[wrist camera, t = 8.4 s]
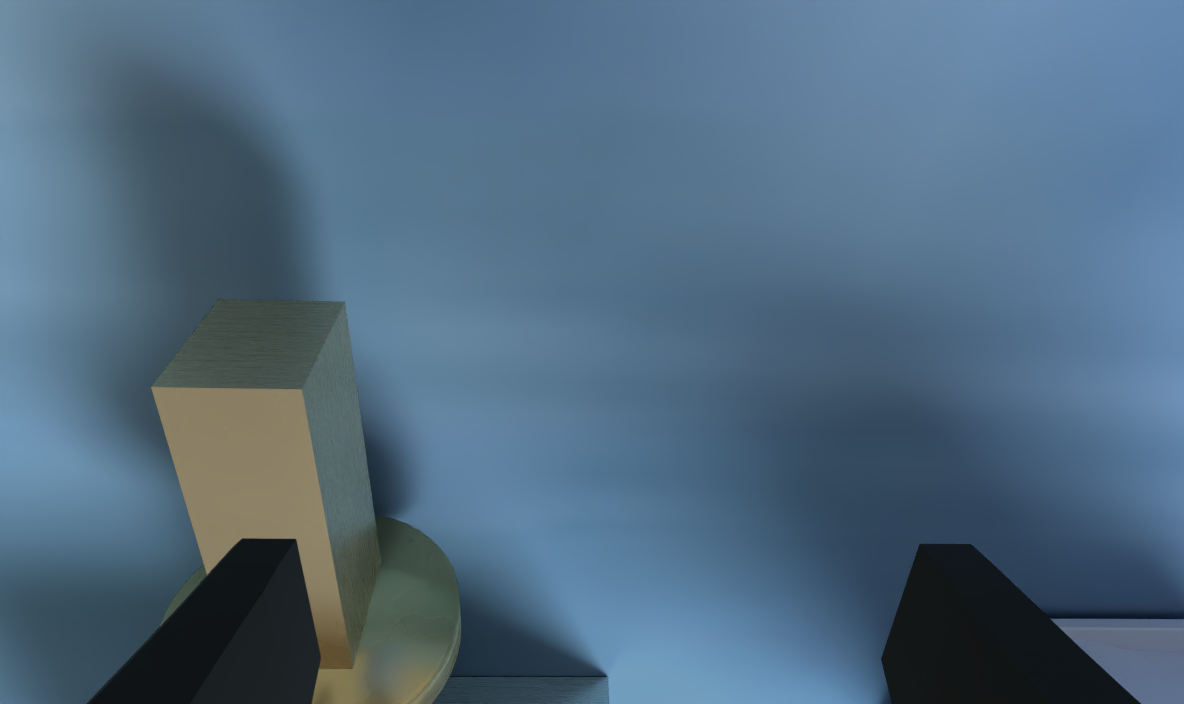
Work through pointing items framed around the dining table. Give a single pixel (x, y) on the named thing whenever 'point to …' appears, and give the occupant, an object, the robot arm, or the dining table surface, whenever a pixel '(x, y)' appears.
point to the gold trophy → (307, 493)
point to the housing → (524, 690)
